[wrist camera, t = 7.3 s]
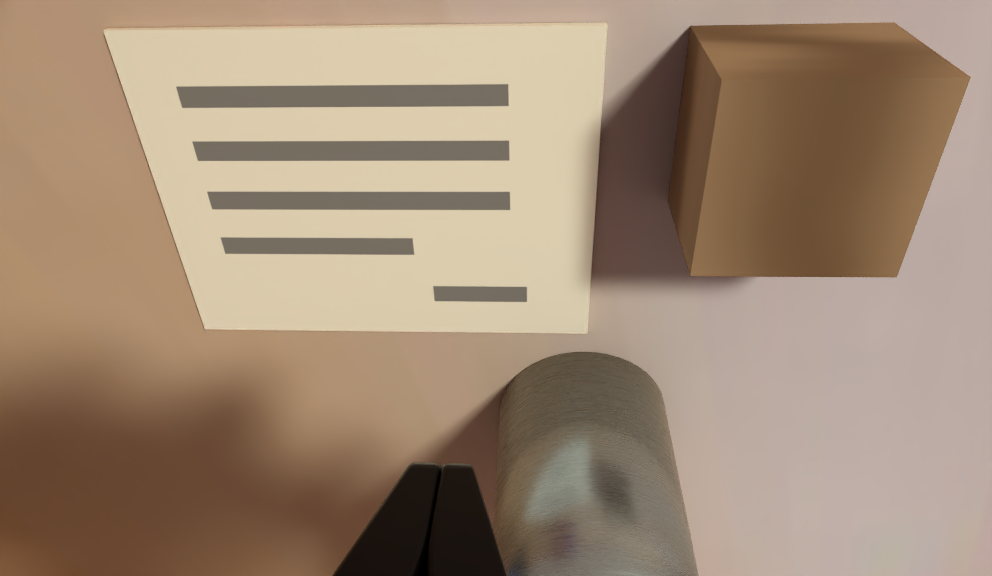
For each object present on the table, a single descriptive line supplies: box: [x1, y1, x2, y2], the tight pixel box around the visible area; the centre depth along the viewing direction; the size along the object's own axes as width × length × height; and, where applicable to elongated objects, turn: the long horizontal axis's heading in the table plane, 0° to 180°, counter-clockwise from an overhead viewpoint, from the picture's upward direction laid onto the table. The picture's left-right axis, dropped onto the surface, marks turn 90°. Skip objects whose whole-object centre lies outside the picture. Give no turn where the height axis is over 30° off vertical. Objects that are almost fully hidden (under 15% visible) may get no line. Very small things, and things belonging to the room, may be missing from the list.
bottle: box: [493, 352, 699, 576], centre depth 21 cm, size 6×6×13 cm
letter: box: [103, 23, 607, 334], centre depth 21 cm, size 13×10×1 cm
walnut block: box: [668, 23, 971, 277], centre depth 18 cm, size 5×5×4 cm
